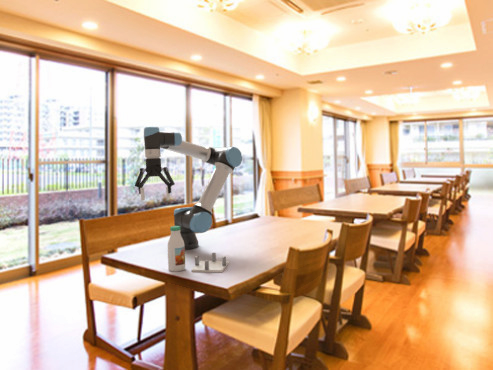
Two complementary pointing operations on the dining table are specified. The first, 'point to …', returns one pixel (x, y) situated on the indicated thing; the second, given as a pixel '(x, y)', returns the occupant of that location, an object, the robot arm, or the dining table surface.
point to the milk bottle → (176, 250)
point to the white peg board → (210, 264)
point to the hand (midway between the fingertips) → (155, 200)
